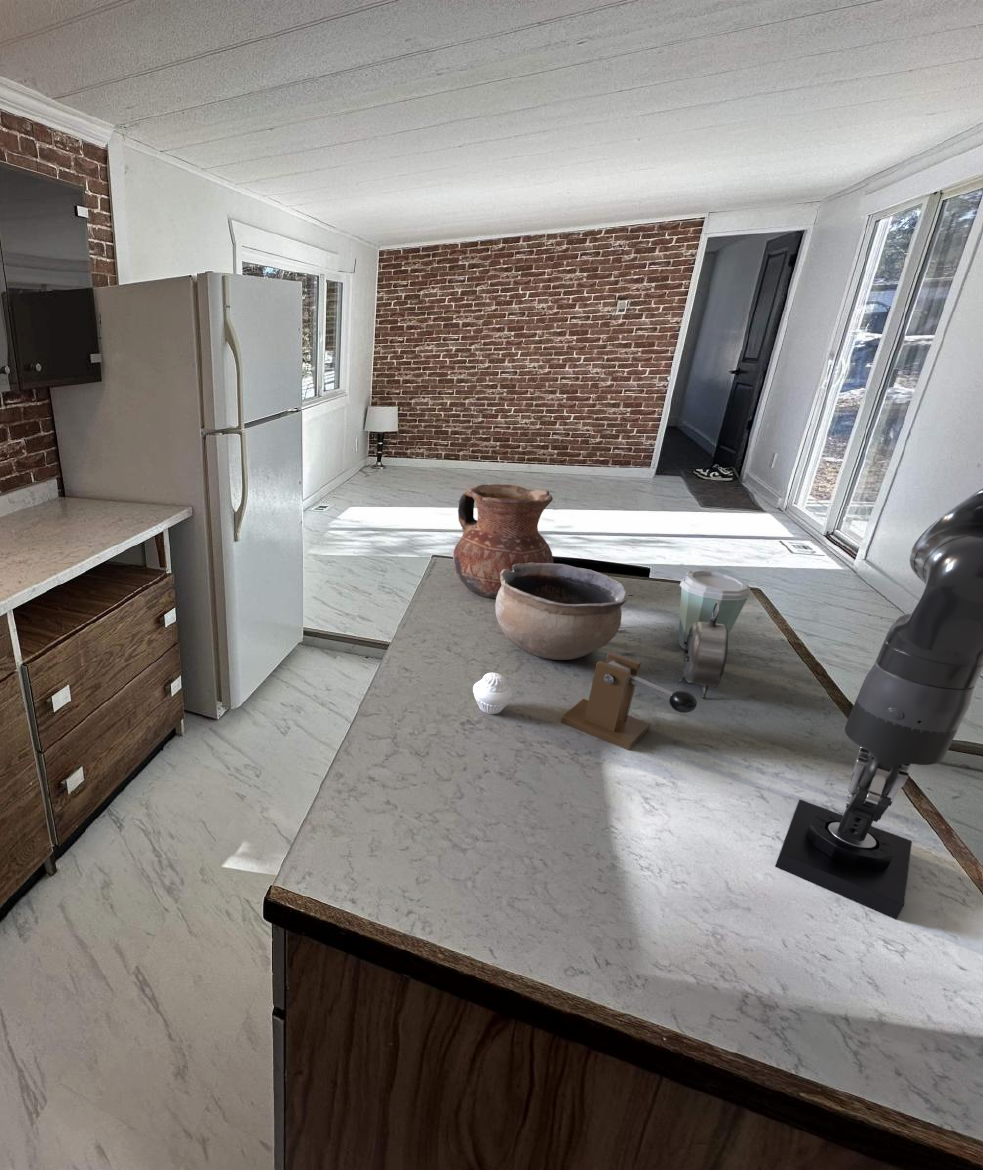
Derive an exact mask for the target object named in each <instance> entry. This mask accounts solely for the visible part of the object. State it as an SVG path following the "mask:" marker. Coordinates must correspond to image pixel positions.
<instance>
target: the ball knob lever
mask: <svg viewBox="0 0 983 1170" xmlns="http://www.w3.org/2000/svg"><path fill="white" fill-rule="evenodd" d="M608 664H611V665H614V666H617V667H620V668H623V669H626V670H629V671H631V669H632V668H630V667H628V666H626V665H623V664H621V663H619V662H616V661H614V660H612V661H610V662H609V663H608ZM628 683H631V684H633V685H635V687H638V688H640V689H641V690H644V691H646V692H649V693H651V694H652V695H655V696H658V697H660V698H662V699H664V700H666V701H668V703H669V705H670V707H671V708H672V709H673V710H674V711H676V712H678V713H681V714H686V713H687V714H689V713H691V712H693V711H694V710H695V709H696V708H697V705H698V702H697V698H696V697H695V695H694V694H693V693H691V692H690V691H687V690H677V691H674V692H673V691H671V690H669V689H666V688H664V687H662V686H659V685H657V684H656V683H653V682H650V681H648V680H646V679H644V678H641V677H639V676H638V677H637V676H634V675H632V674H630V677H629V681H628Z"/></svg>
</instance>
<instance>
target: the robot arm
mask: <svg viewBox="0 0 983 1170" xmlns="http://www.w3.org/2000/svg"><path fill="white" fill-rule="evenodd" d="M908 560H909V565H910V568H911V570H912V572H913V573H914V575H916V577H917V578H918V579H920V580H921V581H922V582H923V583H924V584H925V585H924V590H923V592H922V595H921V597H920V598H919V600H918V602H917V604H916V606H915V608H914V609H913V611H912V612H909V613H905V614H903V615H901V616H899V617H897V618H896V619H895V620H894V622H893V623H892V624H891V626H890V627H889V629H888V631H887V633H886V636H885V638H884V640H883V643H882V646H881V648H880V650H879V652H878V655H877V657H876V660H875V662H874V664H873V666H872V667H871V669H870V670H869V671H868V673H867V674H866V675H865V678H864V680H863V682H862V684H861V688H860V689H859V692H858V694H857V697H856V698H855V702H854V704H853V706H852V709H851V711H850V713H849V716H848V719H847V721H846V723H845V726H844V733H845V734H846V736H847V738H849V740H851V741H852V742H853V743H854V744H856V745H857V746H859V749H858V751H857V754H856V758H855V762H854V765H853V769H852V770H853V772H852V773H851V776H850V780H849V785H848V788H847V791H848V794H847V798H848V799H847V800H846V802H845V810H844V813H843V814H842V815H843V817H842V819H841V821H840V824H839V828H838V832H839V833H840V834H842V835H845V836H847V837H850V838H853V839H855V840H858V841H863V840H864V839H865V837H866V835H867V833H868V831H869V829H870V827H871V826H872V824H873V822H875V823H877V822H878V821H880V820H881V818H882V816H883V815H884V813H886V811H887V810H888V808H889V807H891V806H892V804H893V801H894V799H895V797H896V795H897V793H898V791H899V790H900V789H901V788H904V786H905V785H906V782H907V781H908V778H909V776H910V771H909V769H910V767H911V765H917V766H931V765H935V764H938V763H940V762H942V761H943V760H944V758H945V757H946V755H947V752H948V750H949V749H950V747H951V744H952V743H953V740H954V739H955V736H956V735H957V732H958V730H959V728H960V726H961V724H962V722H963V720H964V718H965V716H966V714H967V712H968V711H969V708H970V705H971V702H972V699H973V694H974V690H975V688H976V685H977V683H978V681H979V679H980V677H981V675H982V673H983V488H981V489H979V490H978V491H976V492H975V493H973V494H971V495H970V496H969V497H968V498H966V499H964V500H963V501H962V502H960V503H959V504H958V505H956V506H955V507H953V508H952V509H950V510H949V511H947V512H946V513H945V514H943V515H942V516H941V517H939V518H938V519H937V520H936V521H935V522H933V523H932V524H931V525H929V526H928V527H927V528H926V529H925V531H924V532H923V533H921V535H920V536H919V537H918V539H917V540H916V541H915V542H914V545H913V546H912V548H911V550H910V553H909V559H908ZM908 771H909V772H908Z"/></svg>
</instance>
